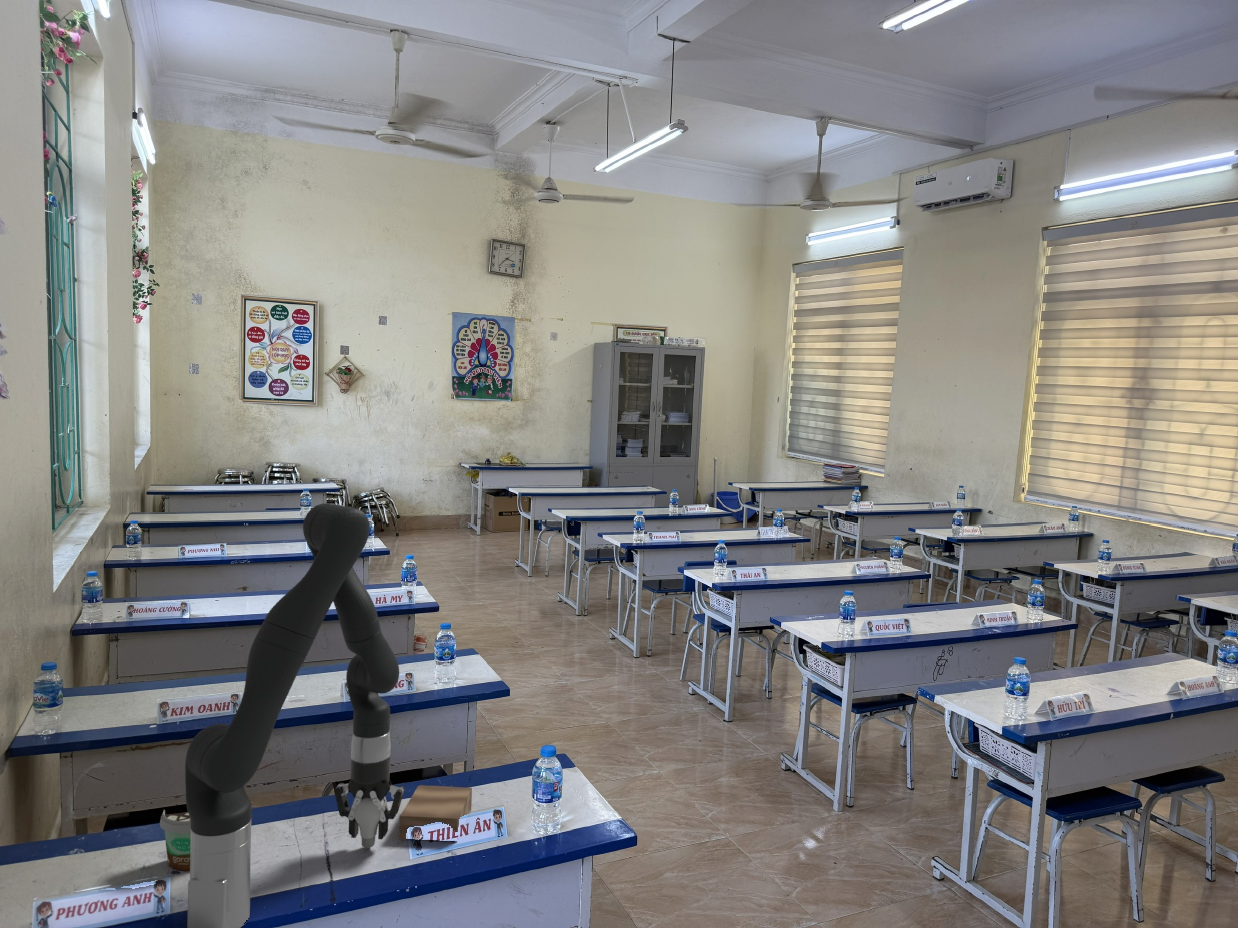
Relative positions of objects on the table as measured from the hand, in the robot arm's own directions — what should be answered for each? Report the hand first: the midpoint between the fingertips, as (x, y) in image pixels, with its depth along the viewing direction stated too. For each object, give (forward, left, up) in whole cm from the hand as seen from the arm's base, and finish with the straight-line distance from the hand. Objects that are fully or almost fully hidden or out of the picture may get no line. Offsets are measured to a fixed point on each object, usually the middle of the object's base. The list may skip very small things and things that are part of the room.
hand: (368, 836), depth 159 cm
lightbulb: (0, 0, -3) cm, 3 cm away
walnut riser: (+11, -11, -3) cm, 16 cm away
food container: (-9, +31, -3) cm, 32 cm away
